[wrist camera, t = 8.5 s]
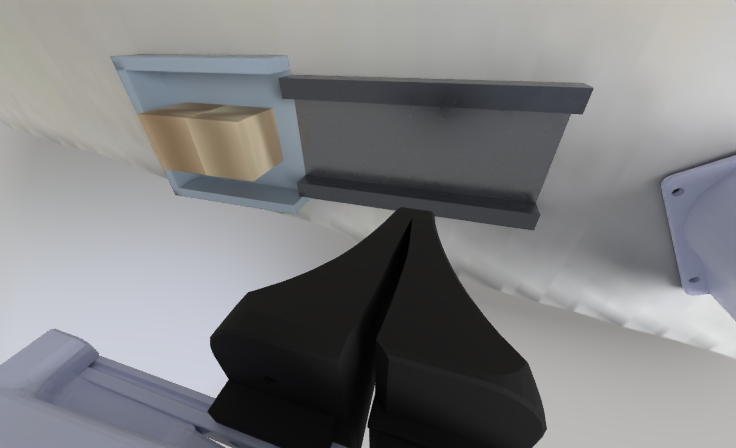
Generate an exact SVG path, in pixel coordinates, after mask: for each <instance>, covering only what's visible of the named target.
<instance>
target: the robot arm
mask: <svg viewBox="0 0 736 448" xmlns="http://www.w3.org/2000/svg"><path fill="white" fill-rule="evenodd" d="M678 188H680V190H679V191H678V192H676V193H672V192H673V191H674V190H675V189H678ZM661 190H662V194H663V199H664V204H665V208H666V213H667V218H668V222H669V227H670V232H671V236H672V241H673V246H674V250H675V255H676V260H677V264H678V269H679V274H680V278H681V283H682V288H683V290H684V291H685V292H686V293H687V294H688V295H692V296H698V295H705V294H711V295H712V296H713V297H714V298H715V299H716V301H717V302H718V303H719V304H720V305H721V306H722V307H723V308H724V309H725V310H726V311H727V312H728V313H729V314H730V315H731V317H732V318H733V319H734V320H735V321H736V155H734V156H731V157H728V158H725V159H721V160H718V161H715V162H712V163H708V164H705V165H702V166H699V167H696V168H692V169H689V170H686V171H683V172H679V173H676V174H673V175H670V176H668V177H666V178H665V179H664V180H663V181H662V182H661ZM434 215H435V214H434V213H433V212H432V211H426V210H419V209H412V208H405V207H400V208H398V209H397V210H396V211H395V212H394V213H393V214H392V215H391V216H390V217H389V218H388V219H387V220H386V221H385V222H384V223H383V224H382V225H381V226H379V227H378V228H377V229H376V230H375V231H374V232H373V233H371V234H370V235H369V236H368V237H366V238H365V239H364V240H362V241H361V242H360V243H358V244H357V245H356V246H354V247H353V248H351V249H350V250H348V251H347V252H345V253H344V254H342V255H340V256H339V257H337V258H335V259H333V260H331V261H329V262H327V263H325V264H323V265H321V266H319V267H317V268H315V269H313V270H311V271H309V272H306V273H304V274H301V275H299V276H296V277H294V278H292V279H289V280H286V281H283V282H281V283H277V284H274V285H271V286H267V287H264V288H261V289H258V290H255V291H251V292H248V293H247V294H246V295H245V296H244V298H243V299H242V300H241V301H240V302H239V303H238V304H237V305H236V306H235V307H234V309H233V310H232V311H231V312H230V313H229V315H228V316H227V317H226V318H225V320H224V321H223V322H222V323H221V325H220V326H219V327H218V328H217V329H216V330H215V332H214V333H213V334H212V336H211V337H210V346H211V349H212V352H213V354H214V356H215V358H216V359H217V361H218V363H219V364H220V366H221V367H222V369H223V371H224V372H225V374H226V376H227V377H228V379H229V380H228V382H227V383H226V385H225V386H224V388H223V389H222V390H221V392H220V394H219V395H218V396H217V398H213V397H210V396H207V395H205V394H202V393H199V392H196V391H194V390H191V389H188V388H186V387H183V386H180V385H178V384H175V383H172V382H169V381H167V380H164V379H161V378H159V377H156V376H153V375H151V374H148V373H145V372H143V371H140V370H137V369H134V368H132V367H129V366H126V365H124V364H121V363H118V362H116V361H113V360H110V359H107V358H104V357H102V356H99V353H98V352H97V351H96V349H94V348H93V347H92V346H91V345H90V344H89V343H87V342H86V341H84V340H83V339H80V338H79V337H76V336H73V335H70V334H68V333H65V332H62V331H59V330H56V329H51V330H49V331H48V332H46V333H45V334H43V335H42V336H41V337H39V338H38V339H36V340H35V341H34V342H32V343H31V344H30V345H28V346H27V347H25V348H24V349H22V350H21V351H20V352H18V353H17V354H15V355H14V356H13V357H11V358H10V359H8V360H7V361H6V362H4V363H3V364H1V365H0V448H225V447H223V446H221V445H220V444H218V443H216V442H214V441H213V440H215V441H218V442H220V443H223V444H225V445H227V446H230V447H232V448H361V446H362V441H363V437H364V432H365V428H366V423H367V418H368V413H369V409H370V405H371V400H372V395H373V391H374V386H375V396H374V400H373V404H372V409H371V412H370V416H369V420H368V428H369V441H370V448H532V447H533V446H534V445H535V444H536V443H537V442H538V441H539V440H540V439H541V438H542V437H543V435H544V433H545V431H546V429H547V427H546V421H545V414H544V408H543V405H542V401H541V398H540V395H539V392H538V389H537V386H536V383H535V380H534V378H533V375H532V372H531V369H530V367H529V364H528V363H527V361H526V360H525V359H524V358H523V357H521V355H520V354H519V353H518V352H517V351H516V350H515V349H514V348H513V347H512V346H511V345H510V344H509V343H508V342H507V341H506V340H505V339H504V338H503V337H502V336H501V335H500V334H499V333H498V332H497V330H496V329H495V328H494V327H493V326H492V325H491V323H490V322H489V321H488V320H487V319H486V317H485V316H484V315H483V313H482V312H481V311H480V309H479V308H478V307H477V305H476V304H475V303H474V302H473V300H472V299H471V298H470V296H469V295H468V293H467V292H466V290H465V289H464V287H463V286H462V284H461V283H460V281H459V279H458V277H457V276H456V274H455V272H454V270H453V269H452V267H451V265H450V263H449V261H448V258H447V256H446V254H445V252H444V249H443V247H442V244H441V241H440V239H439V236H438V233H437V229H436V225H435V218H434ZM693 277H695V278H693ZM691 278H692V279H691ZM207 437H208V438H207ZM209 438H211V439H213V440H211V439H209Z"/></svg>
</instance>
